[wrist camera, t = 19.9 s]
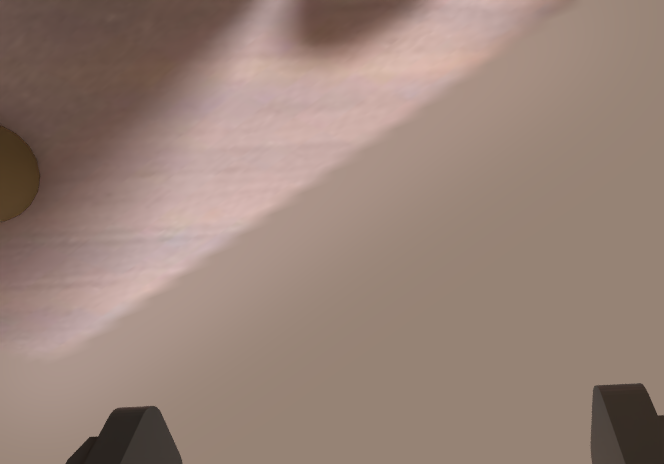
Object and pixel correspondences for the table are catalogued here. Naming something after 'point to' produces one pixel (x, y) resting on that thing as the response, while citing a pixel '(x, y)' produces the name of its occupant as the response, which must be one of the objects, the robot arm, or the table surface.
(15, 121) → the table surface
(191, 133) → the table surface
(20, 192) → the cork
